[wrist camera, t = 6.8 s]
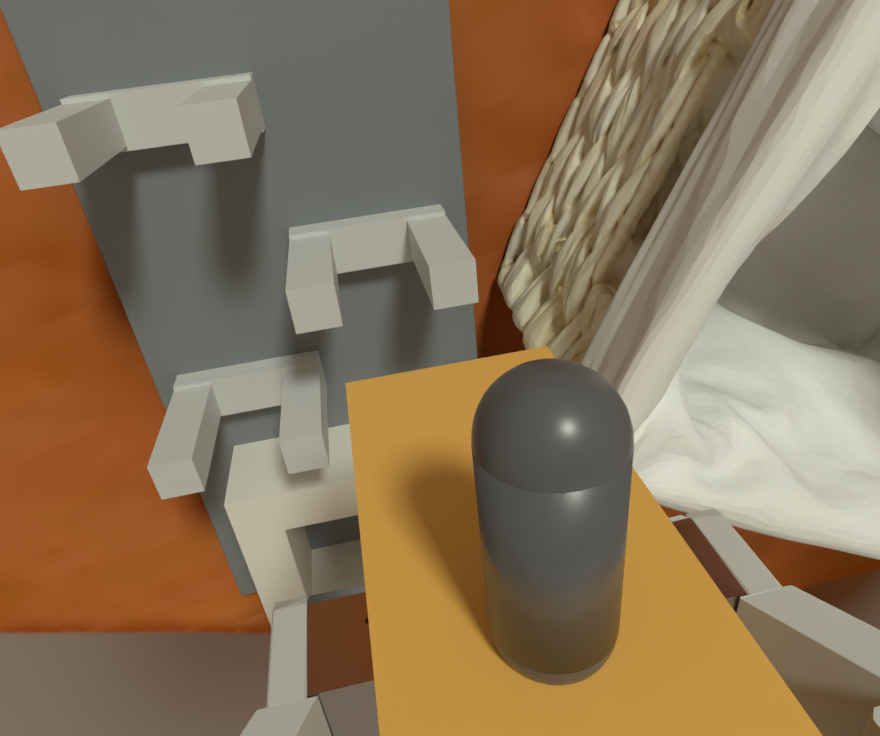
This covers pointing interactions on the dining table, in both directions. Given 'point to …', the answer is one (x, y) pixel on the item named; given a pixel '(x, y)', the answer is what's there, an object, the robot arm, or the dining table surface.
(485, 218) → the dining table surface
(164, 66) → the board
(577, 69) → the dining table surface
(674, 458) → the storage basket
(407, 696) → the plug
